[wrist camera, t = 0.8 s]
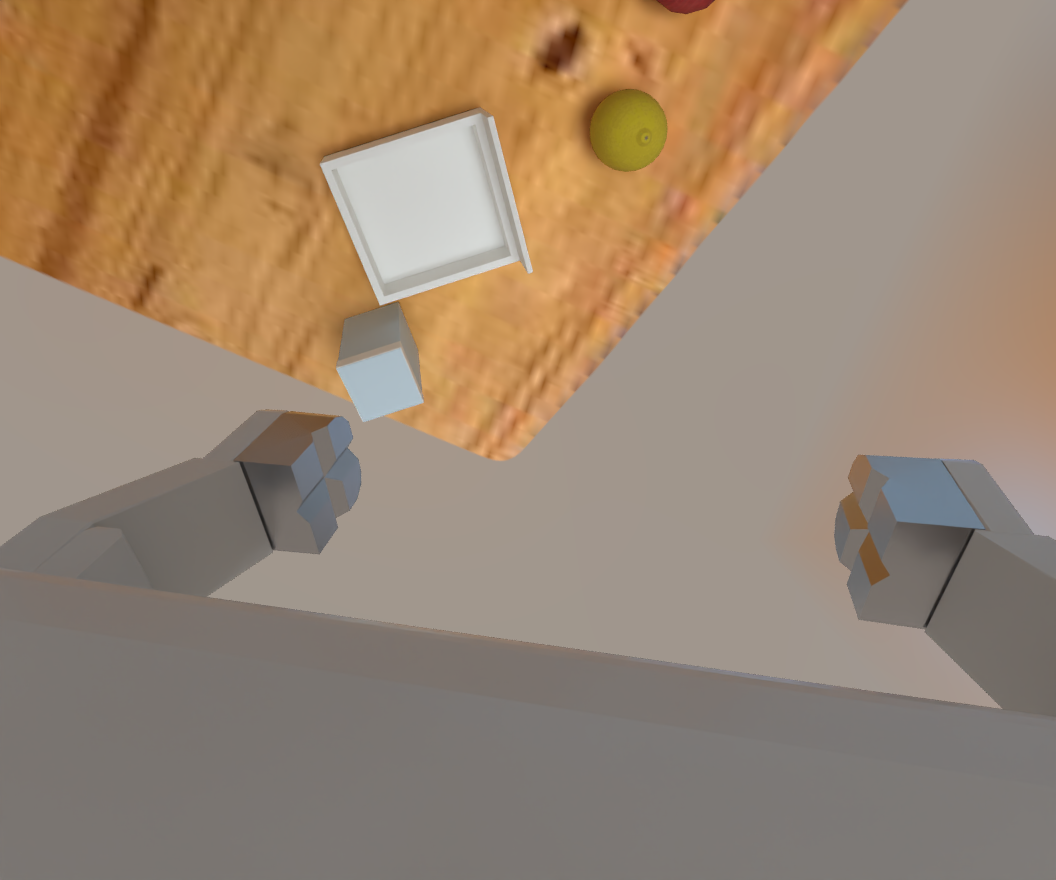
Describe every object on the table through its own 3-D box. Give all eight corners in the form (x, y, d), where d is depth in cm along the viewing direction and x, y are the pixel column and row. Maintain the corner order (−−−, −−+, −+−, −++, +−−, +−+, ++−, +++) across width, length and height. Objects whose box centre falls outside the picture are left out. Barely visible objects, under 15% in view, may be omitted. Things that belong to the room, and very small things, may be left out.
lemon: (611, 176, 51) (644, 196, 44) (564, 131, 48) (592, 144, 42) (657, 119, 49) (698, 131, 43) (611, 69, 46) (647, 73, 40)
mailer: (324, 156, 46) (314, 172, 40) (480, 107, 46) (492, 115, 40) (380, 291, 52) (379, 321, 47) (517, 247, 53) (532, 272, 47)
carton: (343, 318, 53) (335, 368, 45) (398, 301, 53) (400, 347, 45) (367, 367, 56) (363, 422, 48) (418, 350, 56) (423, 402, 48)
